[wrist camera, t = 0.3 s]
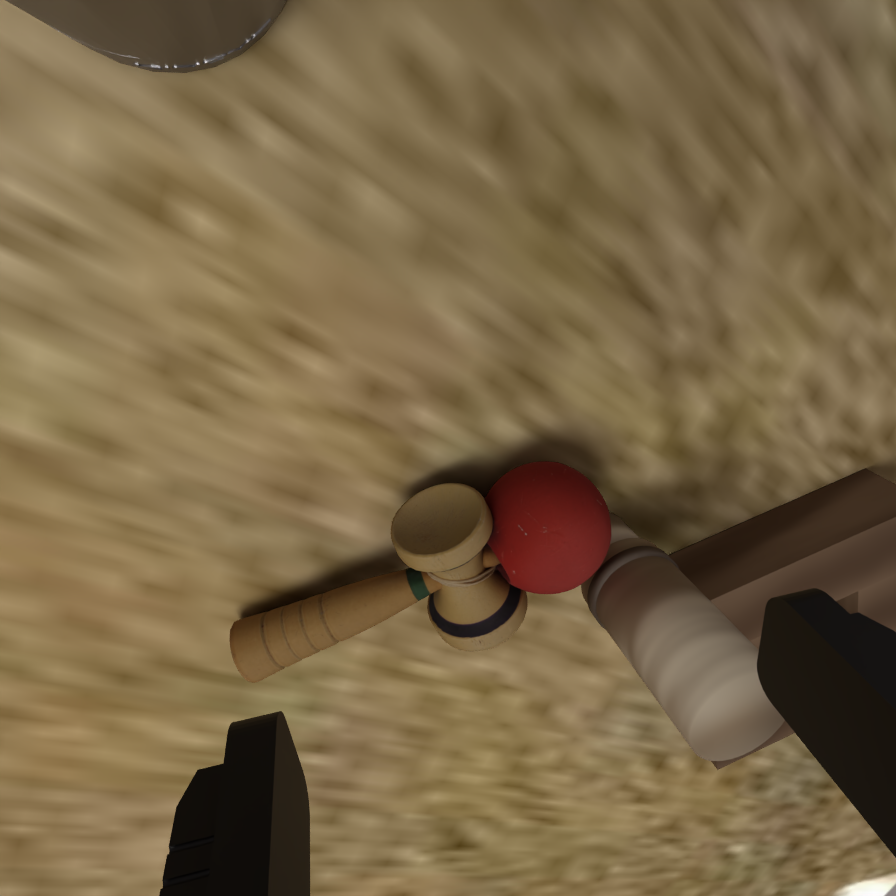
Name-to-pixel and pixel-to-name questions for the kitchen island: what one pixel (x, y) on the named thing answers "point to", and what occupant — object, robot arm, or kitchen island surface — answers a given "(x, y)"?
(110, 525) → the kitchen island surface
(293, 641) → the kendama
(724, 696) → the peg
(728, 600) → the block
